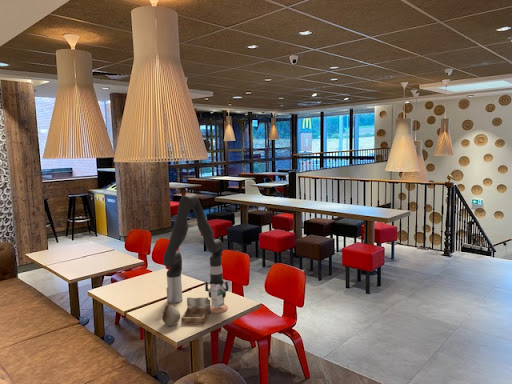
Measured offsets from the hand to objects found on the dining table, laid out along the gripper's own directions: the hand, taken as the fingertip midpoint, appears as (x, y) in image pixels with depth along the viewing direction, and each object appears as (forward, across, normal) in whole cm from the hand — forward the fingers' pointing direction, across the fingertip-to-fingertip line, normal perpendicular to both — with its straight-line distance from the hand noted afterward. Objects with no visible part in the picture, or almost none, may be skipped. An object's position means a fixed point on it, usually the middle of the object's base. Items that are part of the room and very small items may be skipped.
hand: (217, 297), depth 236 cm
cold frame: (+8, -11, -13) cm, 19 cm away
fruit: (+8, -23, -20) cm, 32 cm away
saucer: (+8, 0, 0) cm, 8 cm away
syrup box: (+6, 0, 0) cm, 6 cm away
